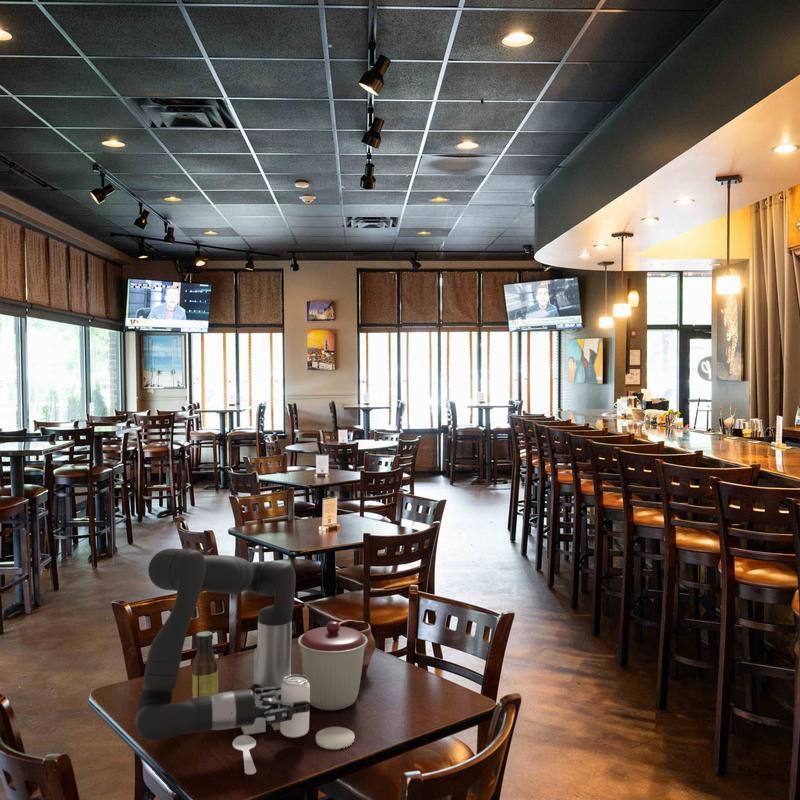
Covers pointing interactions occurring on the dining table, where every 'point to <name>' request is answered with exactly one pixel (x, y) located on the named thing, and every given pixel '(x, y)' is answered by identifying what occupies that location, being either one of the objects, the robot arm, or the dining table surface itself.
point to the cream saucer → (335, 738)
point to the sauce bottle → (204, 667)
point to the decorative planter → (366, 630)
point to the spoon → (246, 751)
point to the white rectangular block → (255, 727)
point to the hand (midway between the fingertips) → (305, 699)
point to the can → (292, 692)
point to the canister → (332, 665)
